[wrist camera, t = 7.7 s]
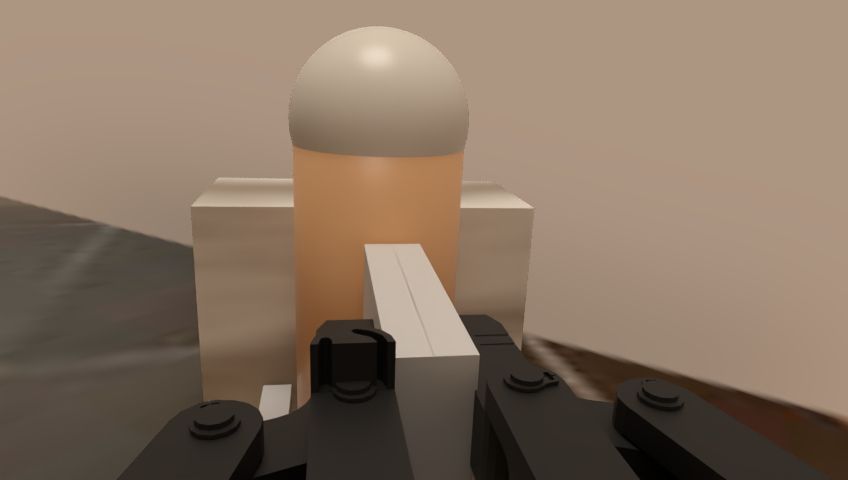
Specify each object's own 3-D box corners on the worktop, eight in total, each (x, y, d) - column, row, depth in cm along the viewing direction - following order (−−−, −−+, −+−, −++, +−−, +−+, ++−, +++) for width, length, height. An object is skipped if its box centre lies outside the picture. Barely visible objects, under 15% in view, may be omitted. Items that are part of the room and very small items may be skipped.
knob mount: (761, 913, 10) (901, 450, 8) (15, 1076, 8) (-123, 525, 6) (479, 369, 29) (493, 181, 27) (229, 379, 27) (218, 177, 25)
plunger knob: (463, 493, 18) (497, 25, 14) (290, 506, 17) (279, 12, 14) (433, 402, 23) (453, 36, 19) (298, 409, 22) (291, 27, 19)
